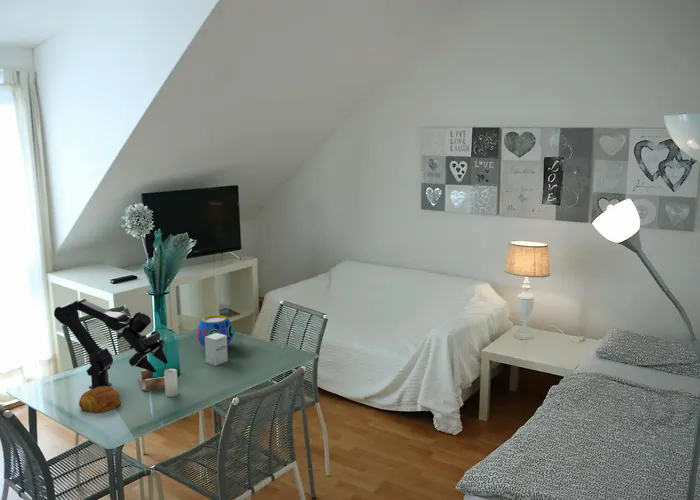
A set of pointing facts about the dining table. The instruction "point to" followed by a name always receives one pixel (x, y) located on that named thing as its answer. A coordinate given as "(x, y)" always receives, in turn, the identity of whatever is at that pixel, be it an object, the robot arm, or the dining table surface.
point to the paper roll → (171, 382)
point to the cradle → (150, 381)
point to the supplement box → (216, 349)
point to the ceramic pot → (214, 328)
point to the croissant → (99, 399)
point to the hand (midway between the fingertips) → (161, 367)
